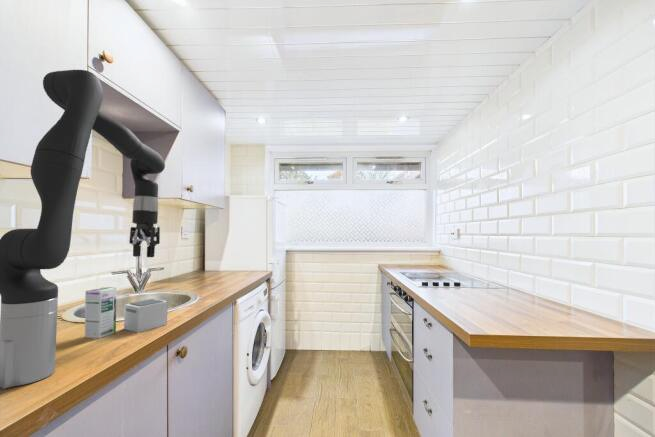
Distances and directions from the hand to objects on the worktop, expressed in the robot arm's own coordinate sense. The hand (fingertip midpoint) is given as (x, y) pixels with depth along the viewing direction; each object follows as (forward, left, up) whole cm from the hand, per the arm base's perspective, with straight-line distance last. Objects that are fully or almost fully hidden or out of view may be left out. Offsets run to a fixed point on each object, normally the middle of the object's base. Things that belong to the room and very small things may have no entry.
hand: (143, 256), depth 105 cm
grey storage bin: (+1, -2, -24) cm, 24 cm away
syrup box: (-11, +2, -24) cm, 27 cm away
